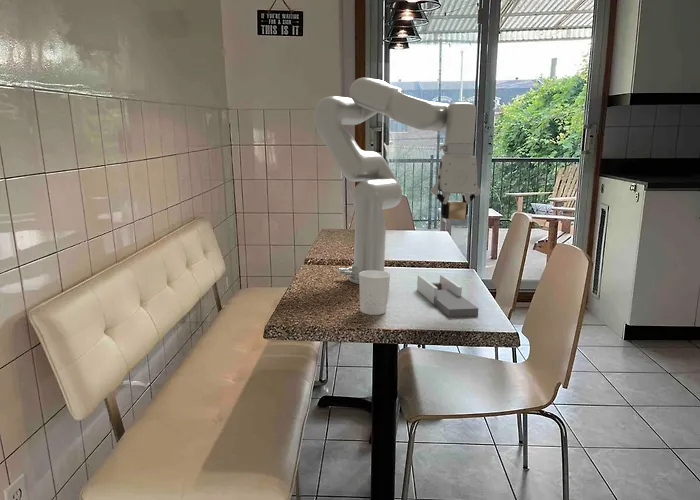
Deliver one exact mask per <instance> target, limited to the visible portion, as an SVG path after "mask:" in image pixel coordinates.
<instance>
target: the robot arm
mask: <svg viewBox="0 0 700 500" xmlns="http://www.w3.org/2000/svg"><path fill="white" fill-rule="evenodd" d="M377 114H381V115H384V116H385V117H389V118H390V119H391V120H393V121H395V122H398V123H400V124H402V125H405V126H409V127H411V128H414V129H417V130H421V131H434V132H443V131H444V132H445V135H444V142H443V145H439V152H441V151H442V152H443V155H441V157H440V161H439V164H438V165H439V166H438V170H437V171H438V172H437V178H436V182H435V183H434V184H433V186H432V187H431V189H430V191H429V192H430V194H432V195H433V196H434V197H436V199H437V200H438V201H439V203H441V206H440V215H441V217H442V219H445V220H449V219H448V215H449V204H448V201H449V198H450V197H451V194H461V201H462V202H465V203H466V215H465V220H466V219H467V216H468V214H469V213H468V212H469V205H470V204H471V202H472V201H473V200H474V199H475V198H476V197H477V196H479V195H480V194H481V193H482V190H481V188H480V187H479V185H478V165H477V156H476V155H473V154H474V141H475V132H476V131H475V127H476V115H477V107H476V105H475V104H474V103H471V102H461V101H460V102H451V103H445V102H437V101H430V100H429V101H428V100H425V99H422V98H417V97H414V96H411V95H408V94H405V92H404V90H403V89H402V88H400V87H398V86H395V85H393V84H389V83H388V82H386V81H384V80H381V79H376V78H371V77H360V78H357V79H355V80H354V81H353V82H352V83H351V85H350V87H349V97H348V96H347V97H346V96H338V95H331V96H330V95H329V96H326V97H323V98H322V99H320V100H319V101H318V103H317V105H316V108H315V110H314V125H315V129H316V130H317V134H318V135H319V136H320V139H321V140H322V141H323V143H324V144H325V146H326V147H327V149H328V150H329V152H330V154H331V156H332V158H333V159H334V161H335V163H336V164H337V166H338V168H339V170H340V172H341V174H342V175H343V176H344V177H345V179H346V180H348V181H350V182H356V183H357V182H358V183H357V185H356V186H355V187H354V189H353V191H352V203H353V210H354V247H353V248H354V249H353V250H354V254H353V264H351V266H349V267H348V268H346V267H339V268H338V274H339V275H343V276H348V281H350V282H351V283H353V284H357V285H359V273H360V272H362V271H367V270H378V271H384V272H385V258H386V256H385V255H386V253H385V252H386V234H387V233H386V230H387V227H386V226H387V225H386V218H385V215H384V212H383V210H386V209H392V208H393V209H394V208H395V207H397V206H398V205H399V204H400V203H401V201H402V199H403V189H402V186H401V185H400V184H401V183H400V182H399V181H398V178H397V177H396V176H395V174H394V172H393V170H392V169H391V167H390V166H389V164H388V162H387V161H386V159H385V158H384V157H383V156H382V154H380V153H379V152H376V151H373V150H363V149H362V148H361V147H360V146H359V144H358V143H357V142H356V140H355V138H354V136H353V135H352V133H350V132H349V131H348V130H347V129H346V128H345V127H344V126H356V125H360V124H362V123H363V122H365V121H367V120H369V119H371V118H372V117H373V116H375V115H377ZM440 192H441V193H440Z"/></svg>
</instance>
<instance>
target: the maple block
mask: <svg viewBox="0 0 700 500" xmlns="http://www.w3.org/2000/svg"><path fill="white" fill-rule="evenodd" d="M448 204H449V215H448V219H447V220H451V221H452V220H458V221H459V220H461V221H462V220H464V221H465V220H466V219H465V215H466V203H465V202H462V200H448ZM466 216H467V215H466Z"/></svg>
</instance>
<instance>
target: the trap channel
mask: <svg viewBox="0 0 700 500" xmlns="http://www.w3.org/2000/svg"><path fill="white" fill-rule="evenodd" d="M462 289H463V288H462V286H461V285H459V284H458V283H456V282H455V281H453V280H452V279H451V278H449V277H447V276H446V275H445V274H439V282H431V281H429V280H428V279H427V278H425V277H424V275H421V274H420V275H419V274H418V275H417V282H416V291H418V292H419V293H420V294H421V295H423V296H424V297H425V298H426V299H427V300H428V301H429V302H431V304H433V305H434V306H435V307H436V308H437V309H438V310H439V311H441V312H442V313H443V314H445V316H446V317H448V318H456V317H457V318H459V317H478V316H479V307H477V306H476V305H474V304H473V303H471V302H470V301H469V300H468V299H466V298H464V297H463V294H462V291H463V290H462Z"/></svg>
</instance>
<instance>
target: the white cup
mask: <svg viewBox="0 0 700 500" xmlns="http://www.w3.org/2000/svg"><path fill="white" fill-rule="evenodd" d="M390 278H391V273H389V272H387V271H385V270H384V271H378V270H367V271H362V272H360V273H359V284H358V286H359V288H358V289H359V292H358V293H359V301H360V302H359V304H360V305H359V307H360V310H359V311H360V313H362V314H365V315H367V316H381V315H384V314H386V312H387V305H388V299H389V292H390V291H389V290H390V281H391V280H390Z"/></svg>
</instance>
